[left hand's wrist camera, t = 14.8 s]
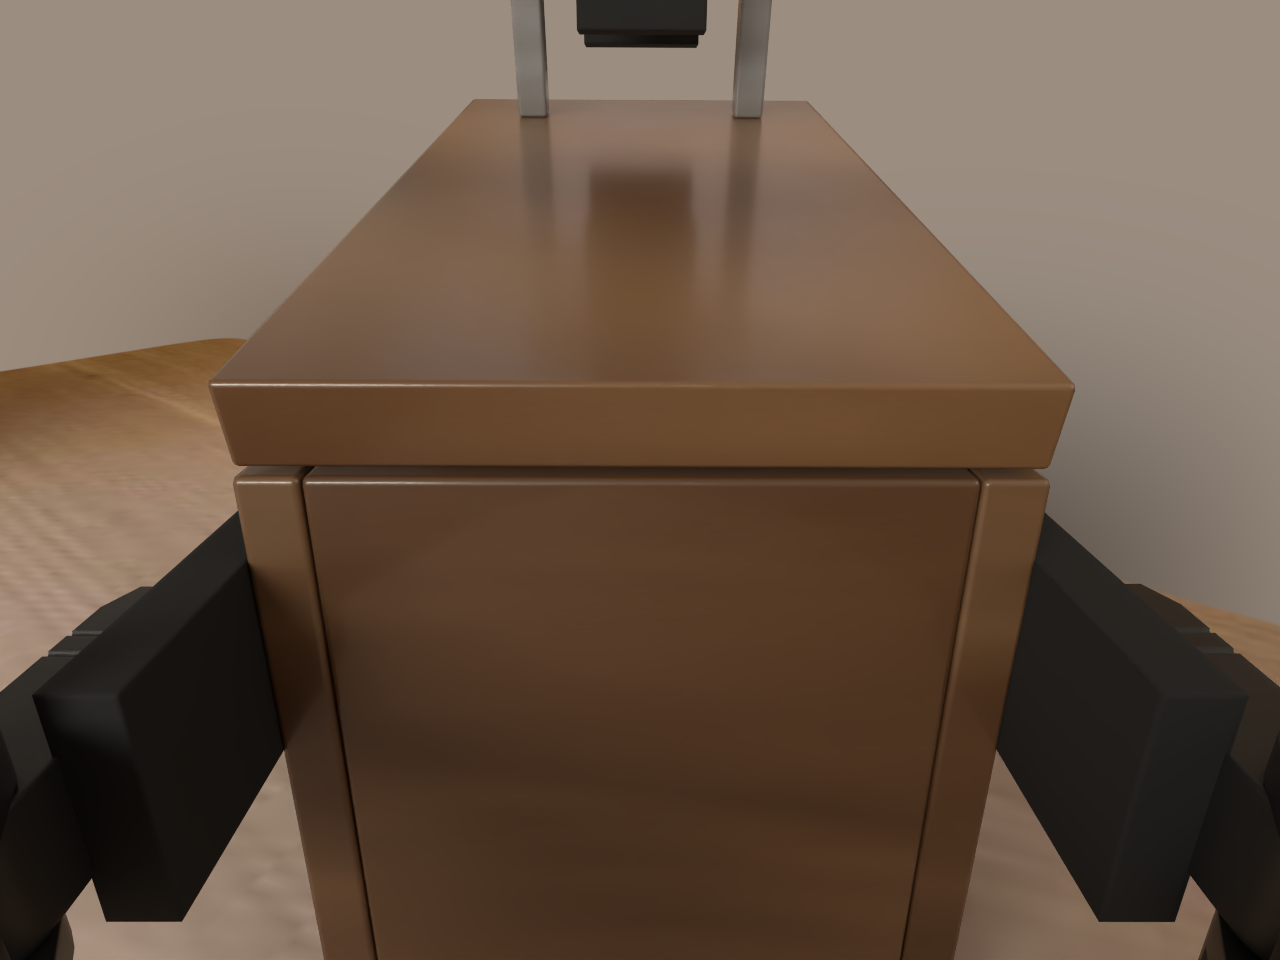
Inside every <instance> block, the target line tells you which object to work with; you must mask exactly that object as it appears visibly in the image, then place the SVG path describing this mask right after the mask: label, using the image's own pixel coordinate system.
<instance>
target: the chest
mask: <svg viewBox="0 0 1280 960" xmlns="http://www.w3.org/2000/svg"><path fill="white" fill-rule="evenodd" d="M233 486H234V491H235V496H236V502H237V507H238V512H239V517H240V523H241V528H242V533H243V538H244V543H245V549H246V554H247V559H248V564H249V569H250V575H251V580H252V585H253V590H254V595H255V601H256V606H257V611H258V616H259V622H260V627H261V632H262V637H263V642H264V648H265V653H266V658H267V663H268V668H269V674H270V679H271V684H272V689H273V695H274V700H275V705H276V710H277V715H278V721H279V726H280V731H281V736H282V741H283V747H284V752H285V757H286V762H287V767H288V773H289V778H290V783H291V788H292V794H293V799H294V804H295V809H296V814H297V820H298V825H299V830H300V835H301V840H302V846H303V851H304V856H305V861H306V867H307V872H308V877H309V882H310V887H311V893H312V898H313V903H314V908H315V913H316V919H317V924H318V929H319V934H320V939H321V945H322V950H323V955H324V960H954V955H955V950H956V945H957V940H958V935H959V931H960V926H961V921H962V916H963V911H964V906H965V901H966V896H967V891H968V886H969V881H970V876H971V872H972V867H973V862H974V857H975V852H976V847H977V842H978V837H979V832H980V827H981V822H982V817H983V813H984V808H985V803H986V798H987V793H988V788H989V783H990V778H991V773H992V768H993V763H994V758H995V754H996V749H997V744H998V739H999V734H1000V729H1001V724H1002V719H1003V714H1004V709H1005V704H1006V699H1007V695H1008V690H1009V685H1010V680H1011V675H1012V670H1013V665H1014V660H1015V655H1016V650H1017V645H1018V640H1019V635H1020V630H1021V625H1022V620H1023V615H1024V610H1025V605H1026V600H1027V595H1028V590H1029V585H1030V580H1031V575H1032V570H1033V565H1034V561H1035V557H1036V552H1037V547H1038V542H1039V537H1040V532H1041V527H1042V523H1043V518H1044V513H1045V508H1046V503H1047V498H1048V493H1049V488H1050V485H1049V481H1048V479H1046V478H1045V477H1044V476H1043V475H1041V474H1040V473H1039V472H1038V471H1036V470H1035V469H963V468H692V467H421V466H248V467H247V468H245V469H244V470H243V471H242V472H240V473H239V474H238V475H237V476H235V478H234V483H233Z"/></svg>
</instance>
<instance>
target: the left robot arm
mask: <svg viewBox="0 0 1280 960" xmlns="http://www.w3.org/2000/svg"><path fill="white" fill-rule="evenodd" d="M72 632H73V634H72V636H66V637H65V638H64V639H63V640H62V641H60V642H59V643H58V644H57V645H56V646H54V647H53V648H52V649H51V650H50V651H49V655H48V657H41V658H40V659H39V660H38V661H37V662H35V663H34V664H33V665H32V666H31V667H30V668H28V669H27V670H26V671H25V672H24V673H22V674H21V675H20V676H19V677H18V678H17V679H15V680H14V681H13V682H12V683H11V684H9V685H8V686H7V687H6V688H5V689H4V690H2V691H1V692H0V960H73V954H74V942H73V936H72V931H71V928H70V925H69V922H68V919H67V916H66V912H67V910H68V909H69V908H70V906H71V905H72V904H73V902H74V901H75V900H76V898H77V897H78V896H79V894H80V893H81V892H82V890H83V889H84V888H85V886H86V885H87V884H88V883H89V881H90V880H91V879H92V880H93V883H94V886H95V889H96V892H97V895H98V898H99V901H100V904H101V907H102V910H103V913H104V916H105V919H106V922H182V921H183V919H184V917H185V916H186V914H187V912H188V910H189V909H190V907H191V905H192V904H193V902H194V900H195V899H196V897H197V895H198V894H199V892H200V890H201V889H202V887H203V885H204V884H205V882H206V880H207V879H208V877H209V875H210V873H211V872H212V870H213V868H214V867H215V865H216V863H217V862H218V860H219V858H220V857H221V855H222V853H223V852H224V850H225V848H226V847H227V845H228V843H229V842H230V840H231V838H232V836H233V835H234V833H235V831H236V830H237V828H238V826H239V825H240V823H241V821H242V820H243V818H244V816H245V815H246V813H247V811H248V810H249V808H250V806H251V805H252V803H253V801H254V799H255V798H256V796H257V794H258V793H259V791H260V789H261V788H262V786H263V784H264V783H265V781H266V779H267V778H268V776H269V774H270V773H271V771H272V769H273V768H274V766H275V764H276V762H277V761H278V759H279V757H280V756H281V754H282V752H283V751H284V747H283V741H282V736H281V731H280V726H279V721H278V715H277V710H276V705H275V700H274V695H273V689H272V684H271V679H270V674H269V668H268V663H267V658H266V653H265V648H264V642H263V637H262V632H261V627H260V622H259V616H258V611H257V606H256V601H255V595H254V590H253V585H252V580H251V575H250V569H249V564H248V559H247V554H246V549H245V543H244V538H243V533H242V528H241V523H240V517H239V512H238V511H237V512H236V513H235V514H234V515H233V516H232V517H231V518H229V519H228V520H227V521H226V522H225V523H224V524H223V525H222V526H220V527H219V528H218V529H217V530H216V531H215V532H214V533H213V534H211V535H210V536H209V537H208V538H207V539H206V540H205V541H204V542H203V543H201V544H200V545H199V546H198V547H197V548H196V549H195V550H194V551H192V552H191V553H190V554H189V555H188V556H187V557H186V558H185V559H184V560H182V561H181V562H180V563H179V564H178V565H177V566H176V567H175V568H173V569H172V570H171V571H170V572H169V573H168V574H167V575H166V576H164V577H163V578H162V579H161V580H160V581H159V582H158V583H157V584H156V585H154V586H153V587H140V588H138V589H136V590H134V591H132V592H130V593H128V594H126V595H124V596H122V597H120V598H118V599H116V600H114V601H112V602H110V603H108V604H106V605H104V606H102V607H101V608H99V609H98V610H97V611H96V612H95V613H93V614H92V615H91V616H90V617H89V618H88V619H86V620H85V621H84V622H83V623H82V624H80V625H79V626H78V627H77V628H76V629H75V630H73V631H72ZM997 751H998V753H999V754H1000V756H1001V758H1002V759H1003V761H1004V763H1005V765H1006V766H1007V768H1008V770H1009V771H1010V773H1011V775H1012V776H1013V778H1014V780H1015V781H1016V783H1017V785H1018V786H1019V788H1020V790H1021V791H1022V793H1023V795H1024V796H1025V798H1026V800H1027V802H1028V803H1029V805H1030V807H1031V808H1032V810H1033V812H1034V813H1035V815H1036V817H1037V818H1038V820H1039V822H1040V823H1041V825H1042V827H1043V828H1044V830H1045V832H1046V833H1047V835H1048V837H1049V838H1050V840H1051V842H1052V844H1053V845H1054V847H1055V849H1056V850H1057V852H1058V854H1059V855H1060V857H1061V859H1062V860H1063V862H1064V864H1065V865H1066V867H1067V869H1068V870H1069V872H1070V874H1071V875H1072V877H1073V879H1074V880H1075V882H1076V884H1077V886H1078V887H1079V889H1080V891H1081V892H1082V894H1083V896H1084V897H1085V899H1086V901H1087V902H1088V904H1089V906H1090V907H1091V909H1092V911H1093V912H1094V914H1095V916H1096V917H1097V919H1098V921H1099V922H1175V920H1176V917H1177V913H1178V910H1179V907H1180V904H1181V901H1182V898H1183V895H1184V892H1185V889H1186V886H1187V883H1188V880H1189V877H1190V876H1191V877H1192V878H1193V879H1194V881H1195V882H1196V883H1197V885H1198V886H1199V887H1200V889H1201V890H1202V891H1203V893H1204V894H1205V895H1206V897H1207V898H1208V899H1209V901H1210V902H1211V903H1212V904H1213V906H1214V907H1215V908H1216V911H1215V913H1214V916H1213V919H1212V922H1211V925H1210V928H1209V930H1208V933H1207V936H1206V939H1205V942H1204V945H1203V947H1202V950H1201V953H1200V956H1199V959H1198V960H1280V687H1279V686H1278V685H1276V684H1275V683H1274V682H1273V681H1272V680H1270V679H1269V678H1268V677H1267V676H1266V675H1265V674H1263V673H1262V672H1261V671H1260V670H1259V669H1257V668H1256V667H1255V666H1254V665H1253V664H1251V663H1250V662H1249V661H1248V660H1247V659H1245V658H1244V657H1243V656H1242V655H1241V654H1234V652H1233V648H1232V647H1231V646H1230V645H1229V644H1228V643H1226V642H1225V641H1224V640H1223V639H1222V638H1220V637H1219V636H1218V635H1217V634H1216V633H1210V631H1209V628H1208V627H1207V626H1206V625H1205V624H1204V623H1202V622H1201V621H1200V620H1199V619H1198V618H1196V617H1195V616H1194V615H1193V614H1192V613H1191V612H1189V611H1188V610H1187V609H1186V608H1185V607H1183V606H1182V605H1181V604H1179V603H1177V602H1175V601H1173V600H1171V599H1169V598H1167V597H1165V596H1163V595H1161V594H1159V593H1157V592H1155V591H1153V590H1151V589H1149V588H1147V587H1145V586H1143V585H1142V584H1124V583H1123V582H1122V581H1121V580H1120V579H1119V578H1118V577H1116V576H1115V575H1114V574H1113V573H1112V572H1111V571H1110V570H1109V569H1107V568H1106V567H1105V566H1104V565H1103V564H1102V563H1101V562H1100V561H1098V560H1097V559H1096V558H1095V557H1094V556H1093V555H1092V554H1091V553H1090V552H1088V551H1087V550H1086V549H1085V548H1084V547H1083V546H1082V545H1081V544H1079V543H1078V542H1077V541H1076V540H1075V539H1074V538H1073V537H1072V536H1070V535H1069V534H1068V533H1067V532H1066V531H1065V530H1064V529H1063V528H1061V527H1060V526H1059V525H1058V524H1057V523H1056V522H1055V521H1054V520H1053V519H1051V518H1050V517H1049V516H1048V515H1047V514H1046V513H1044V518H1043V523H1042V527H1041V532H1040V537H1039V542H1038V547H1037V552H1036V557H1035V561H1034V565H1033V570H1032V575H1031V580H1030V585H1029V590H1028V595H1027V600H1026V605H1025V610H1024V615H1023V620H1022V625H1021V630H1020V635H1019V640H1018V645H1017V650H1016V655H1015V660H1014V665H1013V670H1012V675H1011V680H1010V685H1009V690H1008V695H1007V699H1006V704H1005V709H1004V714H1003V719H1002V724H1001V729H1000V734H999V739H998V744H997Z"/></svg>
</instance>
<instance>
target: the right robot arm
mask: <svg viewBox="0 0 1280 960" xmlns="http://www.w3.org/2000/svg"><path fill="white" fill-rule="evenodd" d="M576 2H577V31H578V32H579V34H584V43H585V46H586V47H649V48H652V47H653V48H696V47H697V45H698V35H704V33H705V32H706V20H707V0H576Z"/></svg>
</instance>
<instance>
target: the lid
mask: <svg viewBox="0 0 1280 960" xmlns="http://www.w3.org/2000/svg"><path fill="white" fill-rule="evenodd" d="M771 3H772V0H739V6H738V22H737V38H736V54H735V70H734V86H733V101H703V100H699V101H697V100H549V94H548V75H547V56H546V37H545V18H544V0H511V10H512V24H513V38H514V52H515V66H516V80H517V93H518V100H508V99H475V100H473V101H472V102H471V103H470V104H469V105H468V106H467V107H466V108H465V109H464V110H463V111H462V112H461V114H460V115H459V116H458V117H457V118H456V119H455V120H454V121H453V122H452V123H451V124H450V125H449V126H448V127H447V128H446V129H445V131H444V132H443V133H442V134H441V135H440V136H439V137H438V138H437V139H436V140H435V141H434V142H433V143H432V144H431V145H430V147H429V148H428V149H427V150H426V151H425V152H424V153H423V154H422V155H421V156H420V157H419V158H418V159H417V160H416V161H415V163H414V164H413V165H412V166H411V167H410V168H409V169H408V170H407V171H406V172H405V173H404V174H403V175H402V176H401V177H400V178H399V179H398V181H397V182H396V183H395V184H394V185H393V186H392V187H391V188H390V189H389V190H388V191H387V192H386V193H385V194H384V195H383V196H382V198H381V199H380V200H379V201H378V202H377V203H376V204H375V205H374V206H373V207H372V208H371V209H370V210H369V211H368V212H367V213H366V215H365V216H364V217H363V218H362V219H361V220H360V221H359V222H358V223H357V224H356V225H355V226H354V227H353V228H352V229H351V230H350V232H349V233H348V234H347V235H346V236H345V237H344V238H343V239H342V240H341V241H340V242H339V243H338V244H337V245H336V247H334V249H333V250H332V251H331V252H330V253H329V254H328V255H327V256H326V257H325V258H324V259H323V260H322V261H321V262H320V263H319V264H318V266H317V267H316V268H315V269H314V270H313V271H312V272H311V273H310V274H309V275H308V276H307V277H306V278H305V279H304V280H303V281H302V283H301V284H300V285H299V286H298V287H297V288H296V289H295V290H294V291H293V292H292V293H291V294H290V295H289V296H288V297H287V298H286V300H285V301H284V302H283V303H282V304H281V305H280V306H279V307H278V308H277V309H276V310H275V311H274V312H273V313H272V314H271V315H270V317H269V318H268V319H267V320H266V321H265V322H264V323H263V324H262V325H261V326H260V327H259V328H258V329H257V330H256V331H255V332H254V334H253V335H252V336H251V337H250V338H249V339H248V340H247V341H246V342H245V343H244V344H243V345H242V346H241V347H240V348H239V349H238V351H237V352H236V353H235V354H234V355H233V356H232V357H231V358H230V359H229V360H228V361H227V362H226V363H225V364H224V365H223V366H222V368H221V369H220V370H219V371H218V372H217V373H216V374H215V375H214V376H213V377H212V378H211V379H210V380H209V390H210V393H211V396H212V399H213V402H214V405H215V408H216V412H217V415H218V418H219V421H220V424H221V427H222V430H223V433H224V436H225V439H226V442H227V445H228V449H229V452H230V455H231V458H232V461H233V463H234V464H235V465H238V466H421V467H692V468H963V469H1045V468H1047V467H1048V466H1049V465H1050V463H1051V460H1052V457H1053V454H1054V451H1055V448H1056V445H1057V442H1058V439H1059V436H1060V433H1061V430H1062V427H1063V424H1064V421H1065V418H1066V416H1067V413H1068V410H1069V407H1070V404H1071V401H1072V398H1073V395H1074V392H1075V386H1074V383H1073V382H1072V381H1071V380H1070V379H1069V378H1068V377H1067V376H1066V375H1065V374H1064V373H1063V372H1062V370H1061V369H1060V368H1059V367H1058V366H1057V365H1056V364H1055V363H1054V362H1053V361H1052V360H1051V359H1050V358H1049V357H1048V356H1047V355H1046V354H1045V352H1044V351H1043V350H1042V349H1041V348H1040V347H1039V346H1038V345H1037V344H1036V343H1035V342H1034V341H1033V340H1032V339H1031V338H1030V337H1029V336H1028V334H1027V333H1026V332H1025V331H1024V330H1023V329H1022V328H1021V327H1020V326H1019V325H1018V324H1017V323H1016V322H1015V321H1014V320H1013V319H1012V318H1011V317H1010V315H1009V314H1008V313H1007V312H1006V311H1005V310H1004V309H1003V308H1002V307H1001V306H1000V305H999V304H998V303H997V302H996V301H995V300H994V299H993V297H992V296H991V295H990V294H989V293H988V292H987V291H986V290H985V289H984V288H983V287H982V286H981V285H980V284H979V283H978V282H977V281H976V279H975V278H974V277H973V276H972V275H971V274H970V273H969V272H968V271H967V270H966V269H965V268H964V267H963V266H962V265H961V264H960V263H959V262H958V260H957V259H956V258H955V257H954V256H953V255H952V254H951V253H950V252H949V251H948V250H947V249H946V248H945V247H944V246H943V245H942V243H941V242H940V241H939V240H938V239H937V238H936V237H935V236H934V235H933V234H932V233H931V232H930V231H929V230H928V229H927V228H926V227H925V225H924V224H923V223H922V222H921V221H920V220H919V219H918V218H917V217H916V216H915V215H914V214H913V213H912V212H911V211H910V210H909V209H908V207H907V206H906V205H905V204H904V203H903V202H902V201H901V200H900V199H899V198H898V197H897V196H896V195H895V194H894V193H893V192H892V191H891V189H890V188H889V187H888V186H887V185H886V184H885V183H884V182H883V181H882V180H881V179H880V178H879V177H878V176H877V175H876V174H875V173H874V171H873V170H872V169H871V168H870V167H869V166H868V165H867V164H866V163H865V162H864V161H863V160H862V159H861V158H860V157H859V156H858V155H857V154H856V152H855V151H854V150H853V149H852V148H851V147H850V146H849V145H848V144H847V143H846V142H845V141H844V140H843V139H842V138H841V137H840V136H839V134H838V133H837V132H836V131H835V130H834V129H833V128H832V127H831V126H830V125H829V124H828V123H827V122H826V121H825V120H824V119H823V118H822V116H821V115H820V114H819V113H818V112H817V111H816V110H815V109H814V108H813V107H812V106H811V105H810V104H809V103H808V102H807V101H764V88H765V76H766V64H767V52H768V40H769V27H770V15H771Z"/></svg>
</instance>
